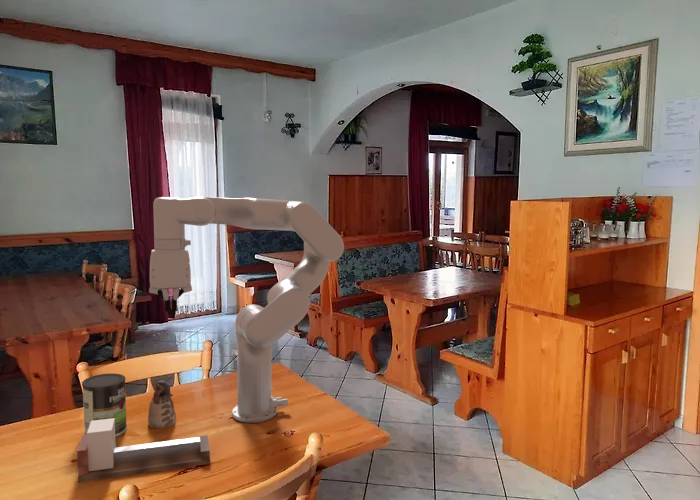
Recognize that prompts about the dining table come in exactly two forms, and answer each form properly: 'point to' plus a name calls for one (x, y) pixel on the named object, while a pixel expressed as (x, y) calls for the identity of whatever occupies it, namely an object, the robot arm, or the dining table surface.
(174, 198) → the robot arm
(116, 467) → the board
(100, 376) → the coffee can
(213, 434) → the dining table surface
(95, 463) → the block
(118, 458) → the beam
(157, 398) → the figurine
